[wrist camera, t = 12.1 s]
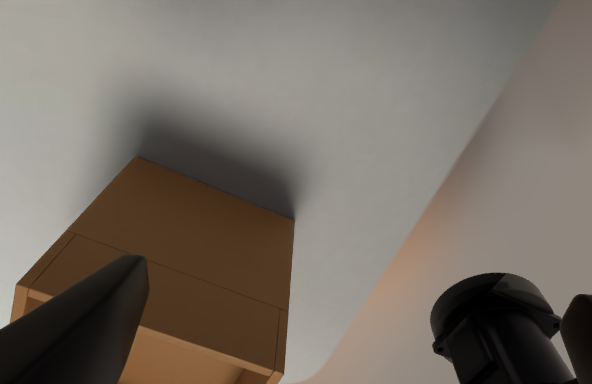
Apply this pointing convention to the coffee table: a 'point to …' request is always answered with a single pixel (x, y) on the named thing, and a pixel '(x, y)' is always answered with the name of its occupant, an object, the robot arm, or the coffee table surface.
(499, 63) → the coffee table surface
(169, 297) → the box
